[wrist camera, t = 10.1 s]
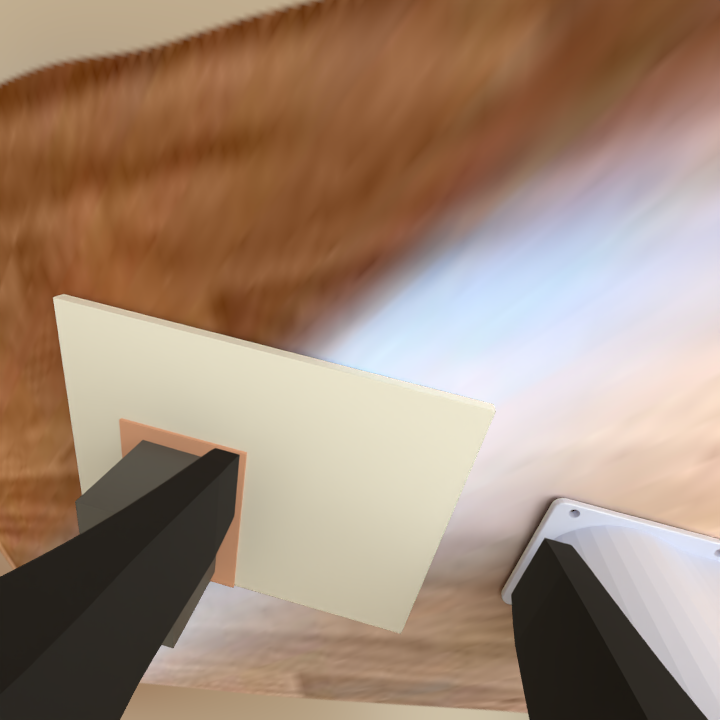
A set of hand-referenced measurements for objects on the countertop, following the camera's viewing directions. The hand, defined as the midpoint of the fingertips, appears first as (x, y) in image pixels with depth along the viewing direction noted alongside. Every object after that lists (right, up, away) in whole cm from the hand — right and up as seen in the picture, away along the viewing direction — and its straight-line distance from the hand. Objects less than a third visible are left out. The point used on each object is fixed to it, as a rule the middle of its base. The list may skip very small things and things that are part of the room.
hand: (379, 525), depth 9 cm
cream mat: (-6, -3, +13) cm, 15 cm away
